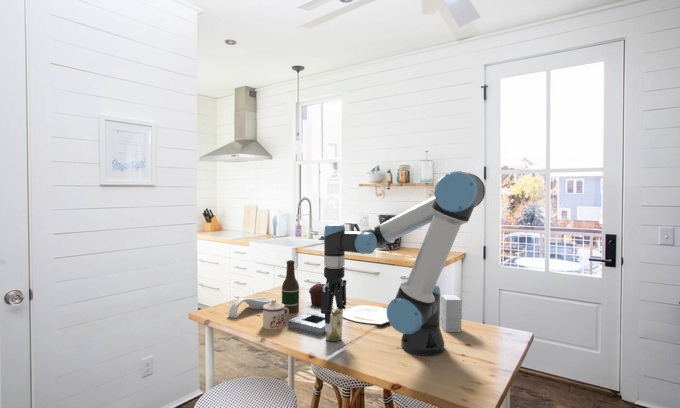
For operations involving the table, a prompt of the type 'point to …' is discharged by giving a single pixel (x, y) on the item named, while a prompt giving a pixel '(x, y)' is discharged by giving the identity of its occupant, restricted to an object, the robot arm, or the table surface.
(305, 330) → the frame
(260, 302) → the spoon rest
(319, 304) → the muffin
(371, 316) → the plate
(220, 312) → the table surface
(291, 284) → the beer bottle
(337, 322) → the yellow can
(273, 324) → the teacup with lid
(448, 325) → the small box
